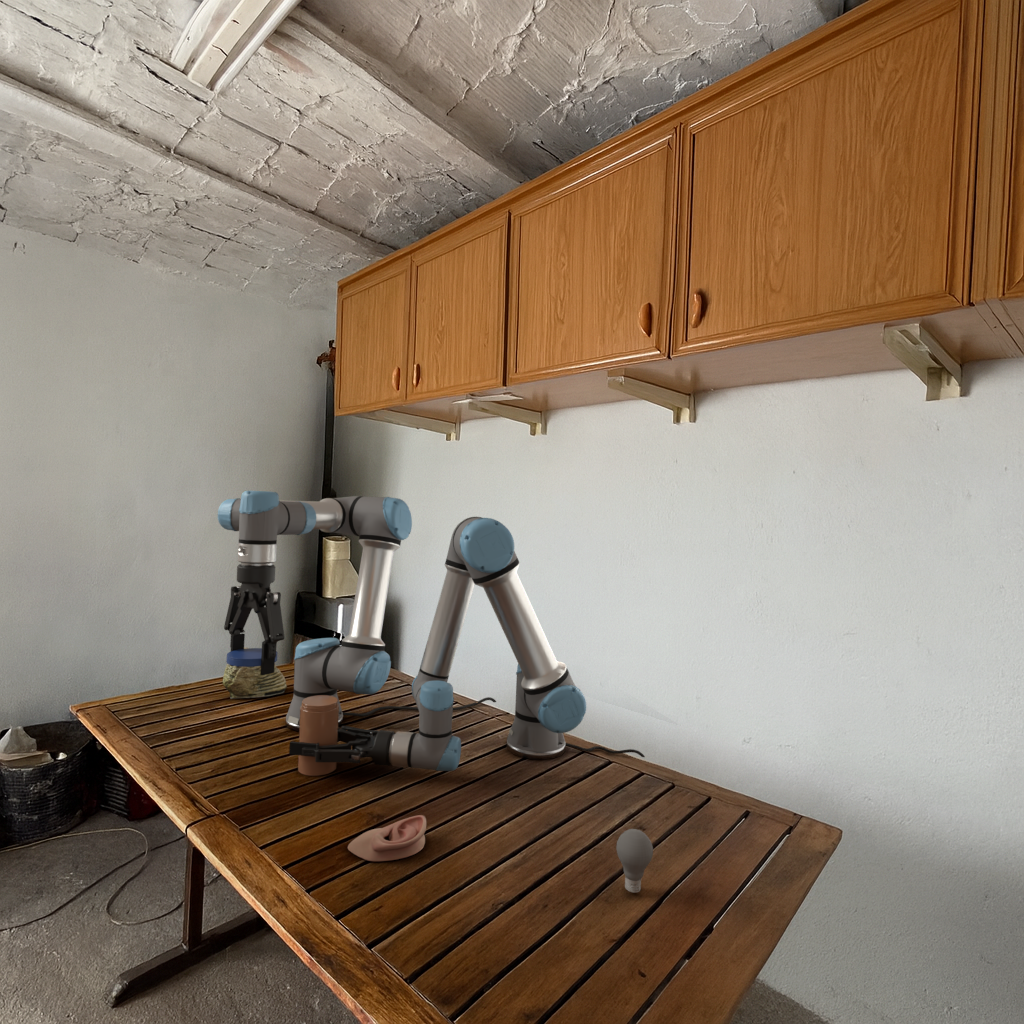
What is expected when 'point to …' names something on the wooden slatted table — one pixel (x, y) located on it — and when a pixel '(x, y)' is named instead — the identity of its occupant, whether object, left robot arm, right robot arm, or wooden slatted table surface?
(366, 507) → the left robot arm
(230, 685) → the fossil
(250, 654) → the lid
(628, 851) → the light bulb
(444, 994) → the wooden slatted table surface
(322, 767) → the jar
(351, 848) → the anatomical model
